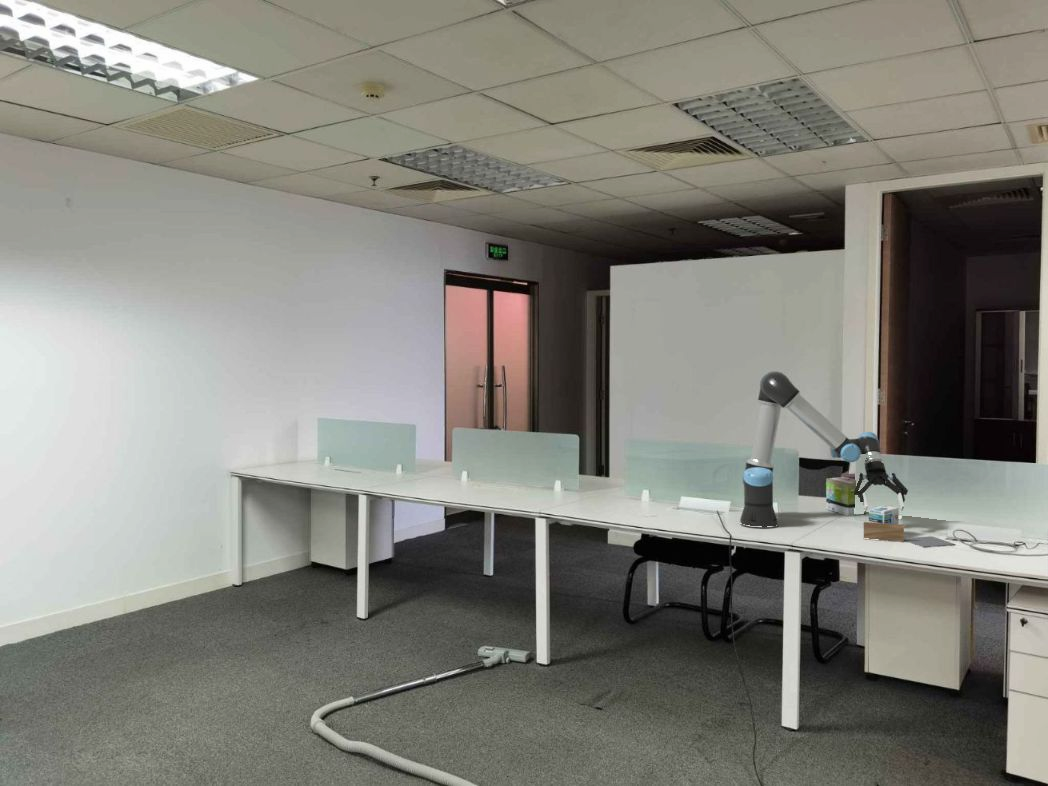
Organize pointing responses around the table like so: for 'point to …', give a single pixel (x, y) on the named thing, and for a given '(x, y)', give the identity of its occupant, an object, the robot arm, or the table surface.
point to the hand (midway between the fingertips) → (884, 508)
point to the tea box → (840, 495)
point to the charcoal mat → (928, 541)
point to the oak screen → (884, 531)
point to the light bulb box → (884, 515)
